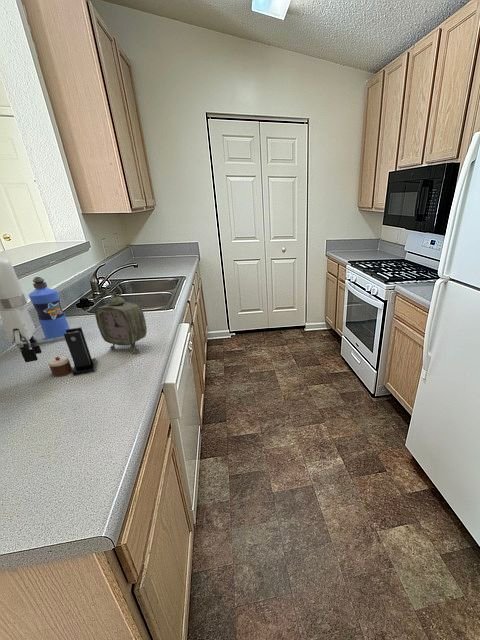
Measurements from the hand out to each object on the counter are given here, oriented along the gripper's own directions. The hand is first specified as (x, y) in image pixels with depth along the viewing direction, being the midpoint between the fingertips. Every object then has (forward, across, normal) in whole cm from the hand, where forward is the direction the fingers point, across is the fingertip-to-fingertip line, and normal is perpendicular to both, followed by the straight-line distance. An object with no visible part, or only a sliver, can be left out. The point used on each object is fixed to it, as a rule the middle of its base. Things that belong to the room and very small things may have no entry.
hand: (33, 356), depth 106 cm
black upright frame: (+7, 0, +12) cm, 14 cm away
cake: (+7, 0, +6) cm, 9 cm away
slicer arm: (-3, 0, +7) cm, 7 cm away
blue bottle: (+8, -38, 0) cm, 39 cm away
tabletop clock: (+8, -11, +26) cm, 30 cm away
